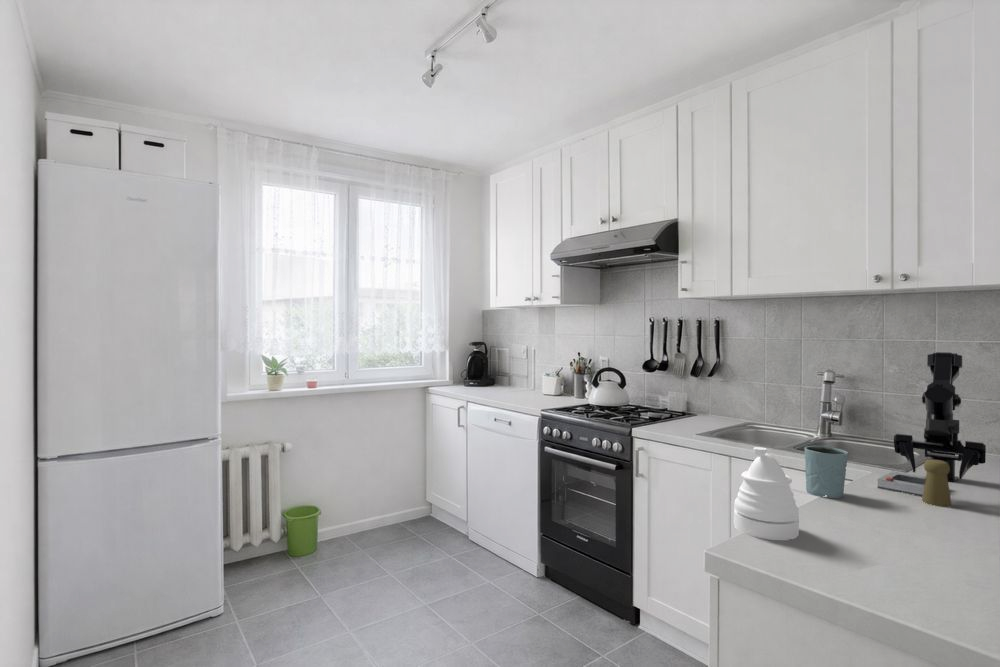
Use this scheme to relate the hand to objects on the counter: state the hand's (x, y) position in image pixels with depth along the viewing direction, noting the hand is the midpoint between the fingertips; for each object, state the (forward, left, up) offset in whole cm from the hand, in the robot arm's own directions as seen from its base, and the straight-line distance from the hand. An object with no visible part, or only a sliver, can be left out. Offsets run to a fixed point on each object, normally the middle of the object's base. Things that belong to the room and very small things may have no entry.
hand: (936, 474), depth 138 cm
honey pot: (+53, -19, -8) cm, 57 cm away
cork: (-1, 0, -8) cm, 8 cm away
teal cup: (+13, -21, -8) cm, 26 cm away
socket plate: (-12, -8, -7) cm, 16 cm away
